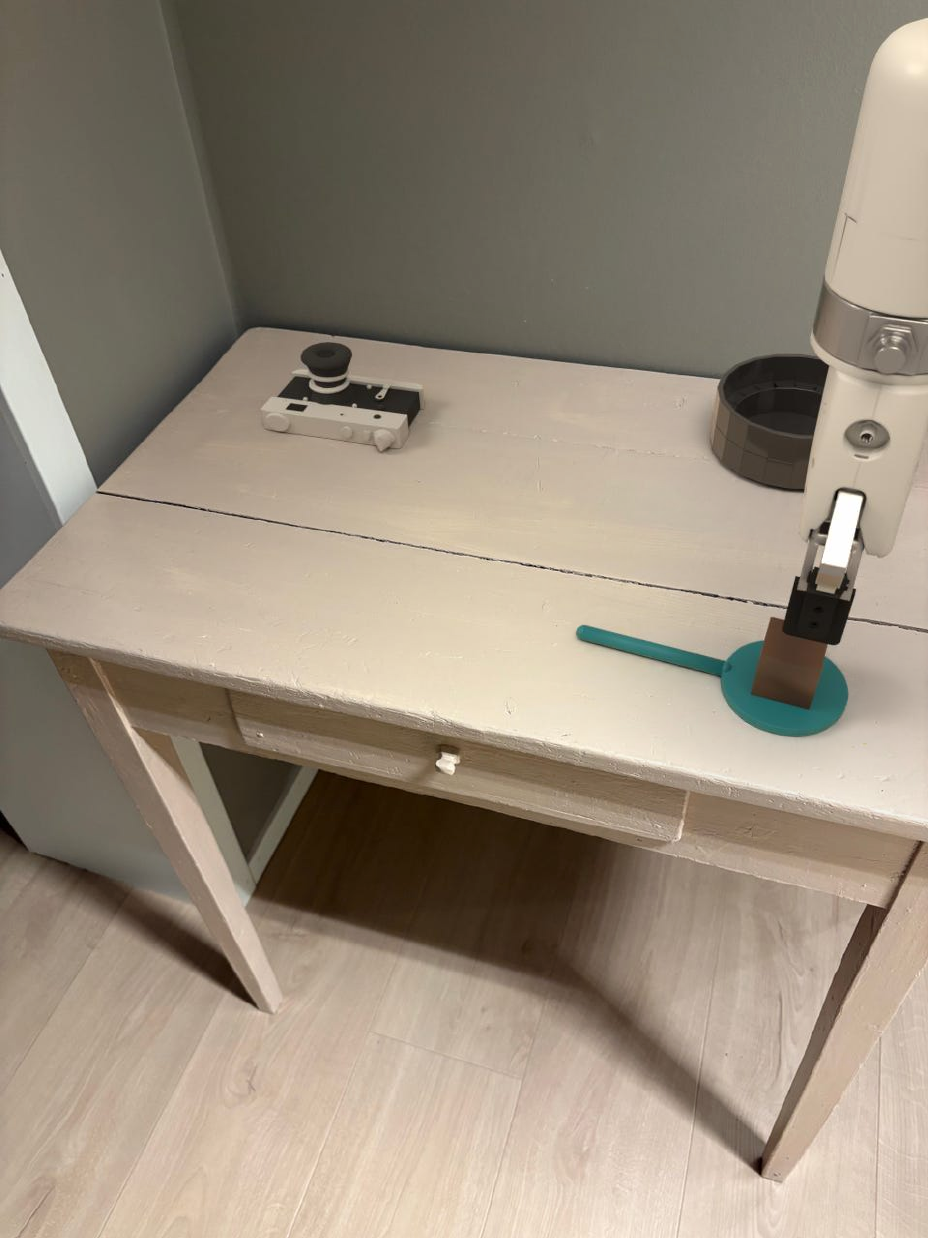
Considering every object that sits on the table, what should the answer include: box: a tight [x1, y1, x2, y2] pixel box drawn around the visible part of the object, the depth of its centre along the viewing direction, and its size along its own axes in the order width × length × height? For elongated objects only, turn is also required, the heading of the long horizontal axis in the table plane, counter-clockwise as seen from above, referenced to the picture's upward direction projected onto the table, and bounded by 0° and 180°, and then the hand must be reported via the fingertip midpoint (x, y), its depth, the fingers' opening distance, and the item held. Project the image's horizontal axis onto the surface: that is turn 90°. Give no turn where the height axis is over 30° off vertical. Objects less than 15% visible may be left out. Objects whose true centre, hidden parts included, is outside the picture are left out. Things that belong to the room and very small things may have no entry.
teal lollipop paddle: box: [575, 624, 849, 737], centre depth 73 cm, size 21×9×1 cm, turn 67°
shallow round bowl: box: [709, 353, 829, 490], centre depth 92 cm, size 15×15×6 cm
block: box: [751, 616, 828, 710], centre depth 69 cm, size 4×4×4 cm
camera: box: [260, 341, 426, 452], centre depth 99 cm, size 15×7×10 cm
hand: (822, 583), depth 58 cm, fingers open, 9 cm apart
